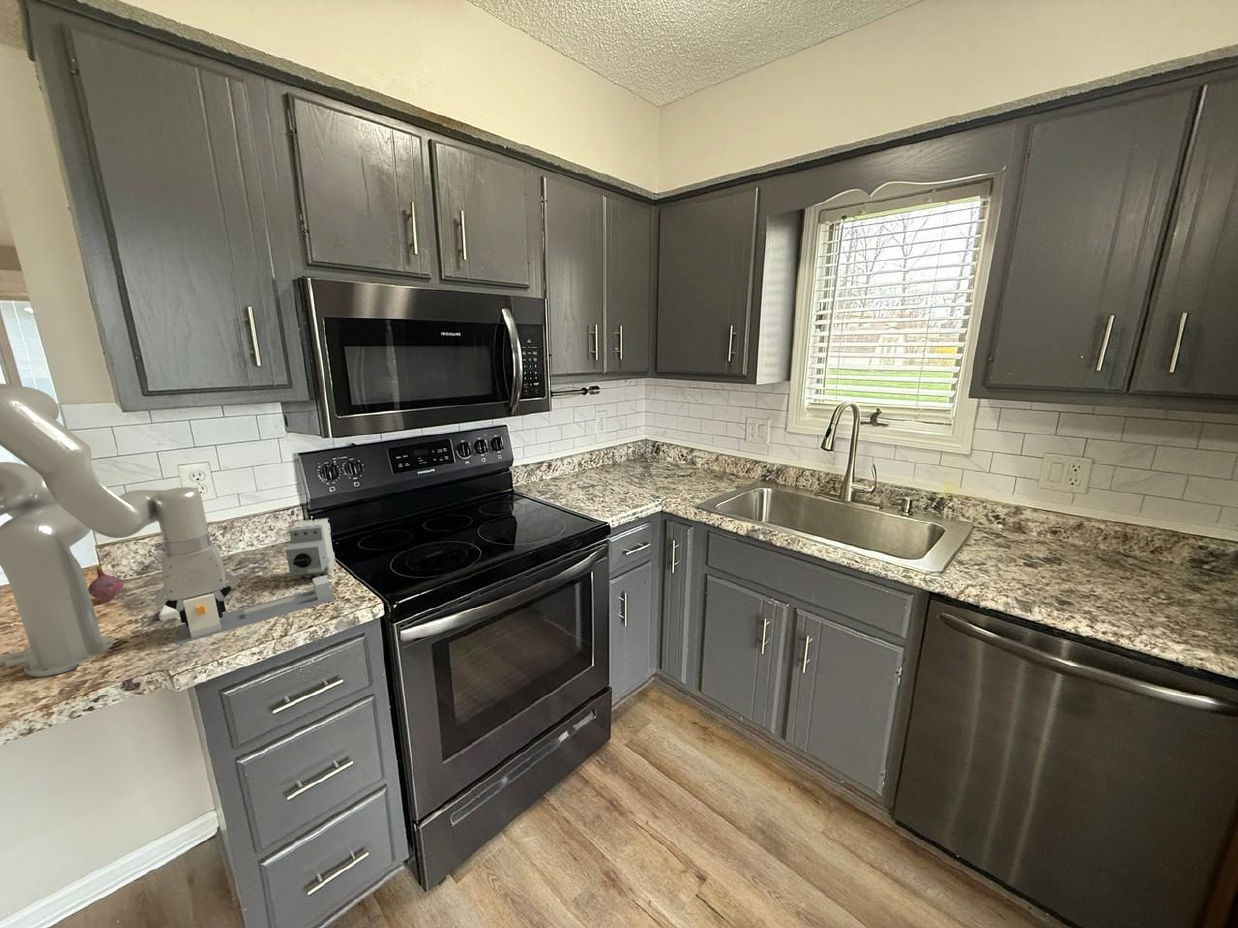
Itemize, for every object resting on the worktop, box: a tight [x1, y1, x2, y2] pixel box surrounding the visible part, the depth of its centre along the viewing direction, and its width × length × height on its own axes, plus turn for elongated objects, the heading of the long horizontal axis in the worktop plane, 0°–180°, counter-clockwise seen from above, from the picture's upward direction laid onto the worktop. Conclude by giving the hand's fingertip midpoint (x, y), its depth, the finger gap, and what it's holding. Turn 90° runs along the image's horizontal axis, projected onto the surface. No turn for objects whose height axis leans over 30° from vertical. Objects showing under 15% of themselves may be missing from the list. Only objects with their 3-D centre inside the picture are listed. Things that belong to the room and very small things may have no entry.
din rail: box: [244, 591, 317, 618], centre depth 120 cm, size 15×2×1 cm, turn 129°
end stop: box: [312, 575, 332, 600], centre depth 125 cm, size 3×5×4 cm, turn 39°
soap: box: [158, 605, 180, 621], centre depth 119 cm, size 9×6×3 cm, turn 123°
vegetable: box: [87, 564, 124, 602], centre depth 125 cm, size 6×6×10 cm
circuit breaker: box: [285, 517, 336, 579], centre depth 136 cm, size 8×14×15 cm, turn 16°
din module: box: [183, 592, 221, 638], centre depth 110 cm, size 5×9×8 cm, turn 39°
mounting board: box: [176, 588, 336, 646], centre depth 118 cm, size 30×10×1 cm, turn 129°
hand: (204, 618), depth 111 cm, fingers closed on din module, 5 cm apart
